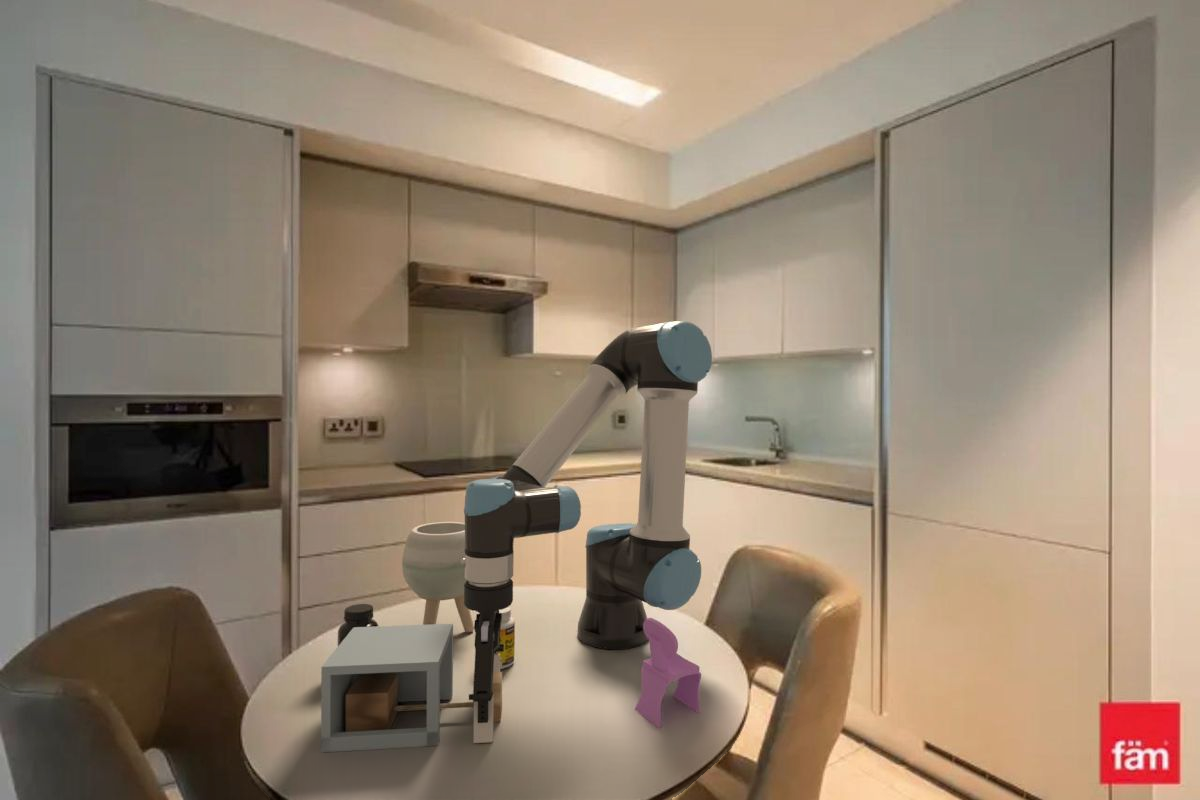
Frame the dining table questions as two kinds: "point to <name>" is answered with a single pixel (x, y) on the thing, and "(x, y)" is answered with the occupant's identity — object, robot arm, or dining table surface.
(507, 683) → the dining table surface
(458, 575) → the planter
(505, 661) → the supplement bottle
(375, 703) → the tethered block
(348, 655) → the shelf cubby
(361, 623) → the supplement bottle
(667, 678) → the toy chair
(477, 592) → the robot arm
